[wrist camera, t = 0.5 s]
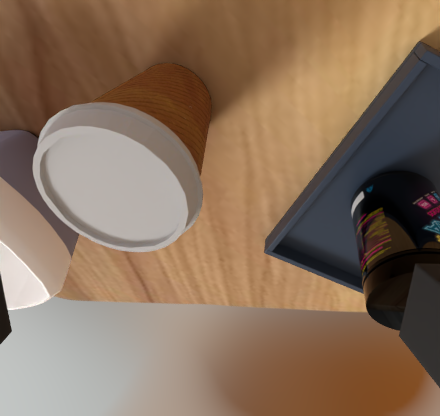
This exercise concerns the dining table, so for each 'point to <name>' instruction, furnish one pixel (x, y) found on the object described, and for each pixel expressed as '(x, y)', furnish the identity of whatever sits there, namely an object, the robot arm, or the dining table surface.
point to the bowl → (29, 229)
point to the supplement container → (394, 238)
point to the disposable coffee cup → (129, 160)
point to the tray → (364, 170)
